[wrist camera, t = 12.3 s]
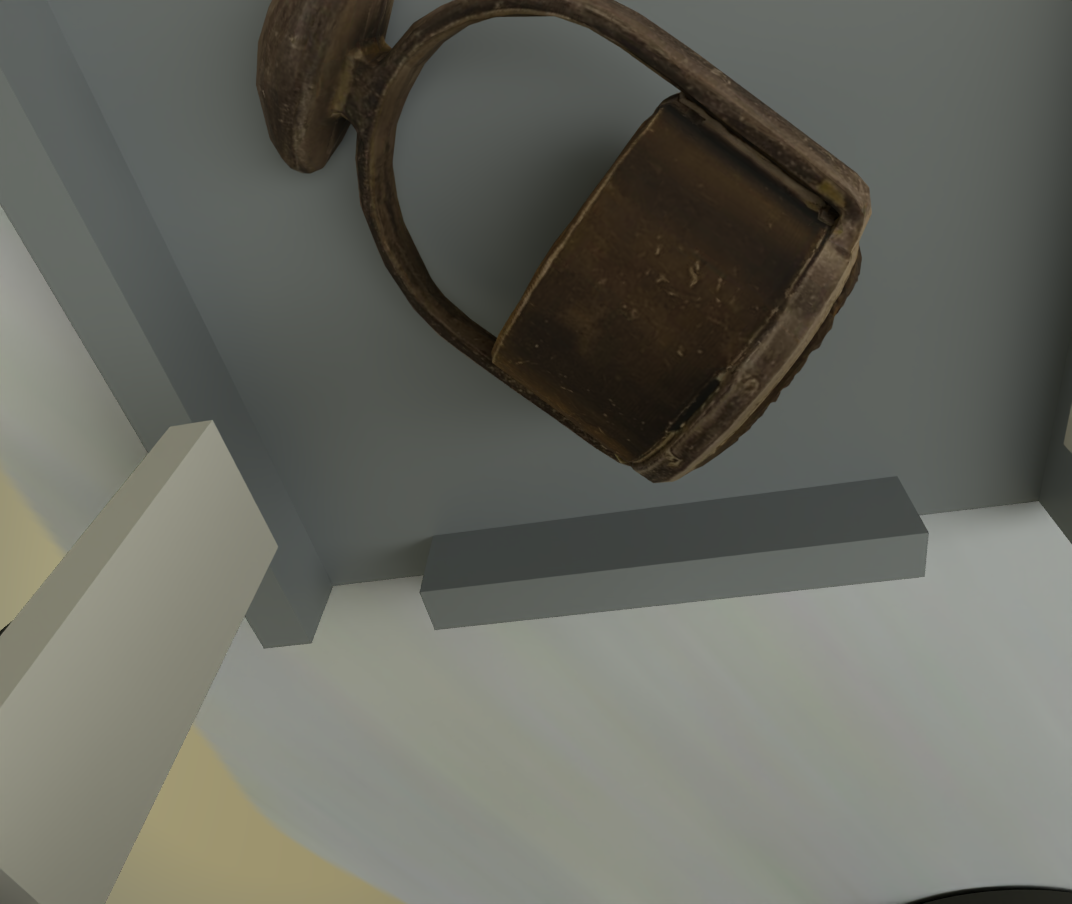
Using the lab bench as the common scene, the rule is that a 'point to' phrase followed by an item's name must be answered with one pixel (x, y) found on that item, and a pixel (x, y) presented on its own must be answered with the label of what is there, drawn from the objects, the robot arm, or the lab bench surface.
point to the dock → (507, 268)
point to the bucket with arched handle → (605, 230)
